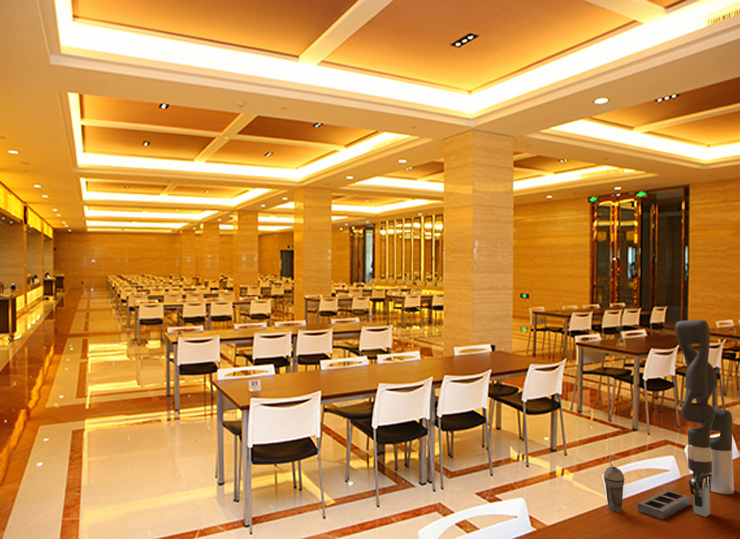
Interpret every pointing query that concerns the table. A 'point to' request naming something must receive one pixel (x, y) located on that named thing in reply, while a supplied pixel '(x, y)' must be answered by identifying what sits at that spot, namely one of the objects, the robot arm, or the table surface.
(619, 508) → the beverage cup
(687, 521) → the table surface
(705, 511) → the peg
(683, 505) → the grey slotted block
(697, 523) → the table surface
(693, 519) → the table surface
